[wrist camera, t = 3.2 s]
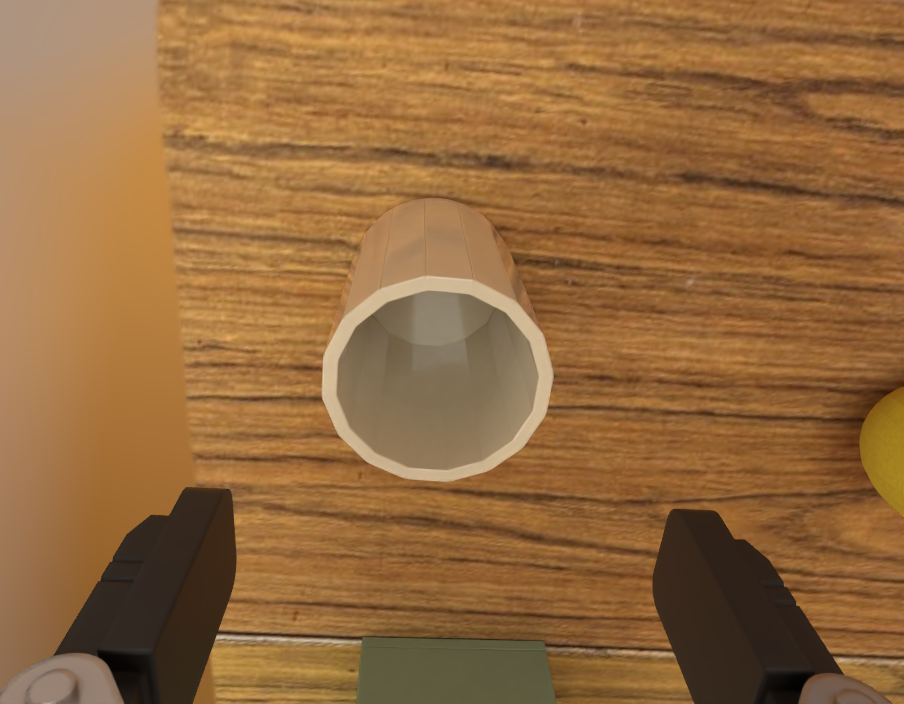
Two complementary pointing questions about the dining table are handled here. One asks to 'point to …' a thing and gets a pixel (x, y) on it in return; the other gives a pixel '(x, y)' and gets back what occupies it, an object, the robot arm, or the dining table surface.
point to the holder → (453, 672)
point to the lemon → (885, 448)
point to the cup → (435, 347)
